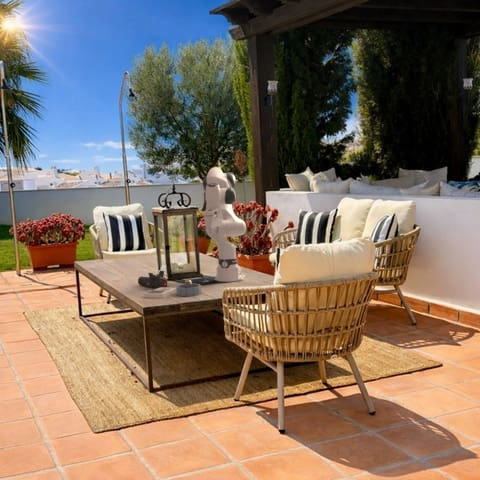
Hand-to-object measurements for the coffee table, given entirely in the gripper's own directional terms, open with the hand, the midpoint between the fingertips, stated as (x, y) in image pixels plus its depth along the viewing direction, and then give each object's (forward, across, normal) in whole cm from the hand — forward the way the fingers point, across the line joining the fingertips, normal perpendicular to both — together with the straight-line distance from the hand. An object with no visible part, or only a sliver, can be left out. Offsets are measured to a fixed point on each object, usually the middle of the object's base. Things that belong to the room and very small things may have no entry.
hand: (214, 234), depth 367 cm
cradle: (+33, +16, -29) cm, 47 cm away
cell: (+32, +13, -13) cm, 37 cm away
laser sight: (+34, -5, -44) cm, 56 cm away
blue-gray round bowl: (+33, +13, -13) cm, 38 cm away
